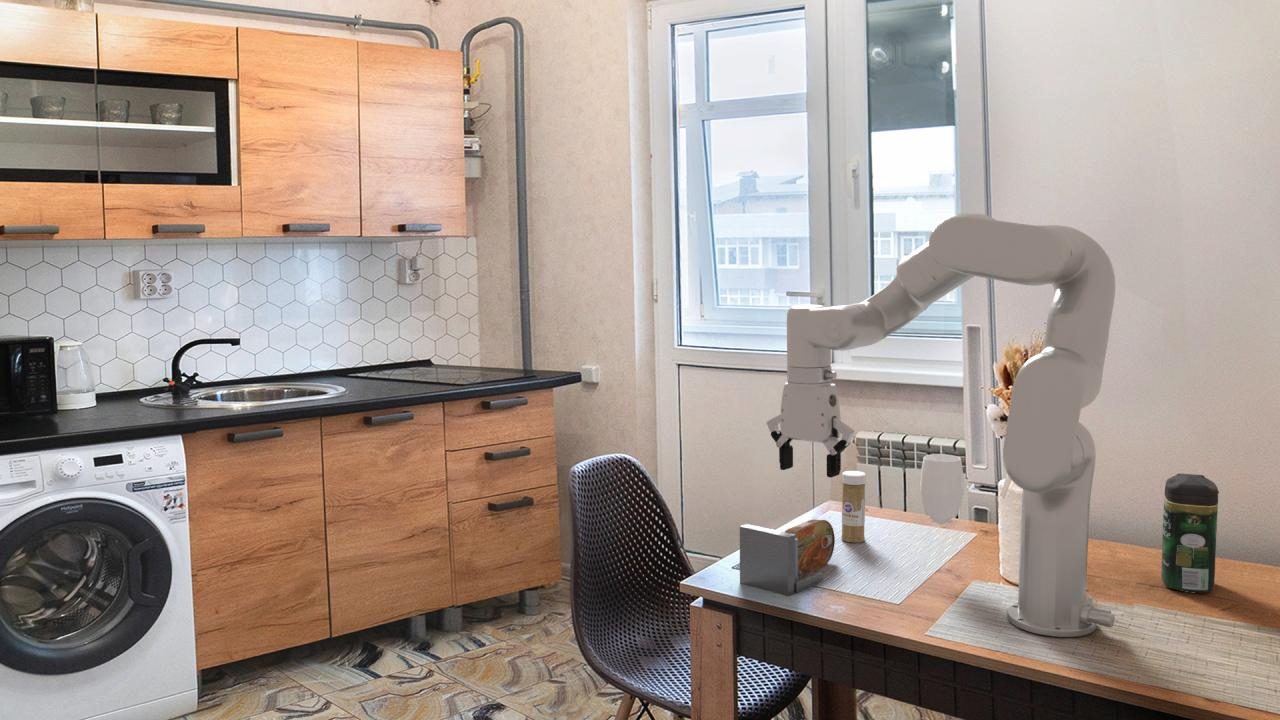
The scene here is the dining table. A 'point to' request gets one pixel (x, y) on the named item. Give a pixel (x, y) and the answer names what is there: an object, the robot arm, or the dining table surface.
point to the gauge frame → (771, 561)
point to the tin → (813, 544)
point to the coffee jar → (1189, 533)
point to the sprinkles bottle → (853, 506)
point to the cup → (941, 486)
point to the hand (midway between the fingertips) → (809, 472)
